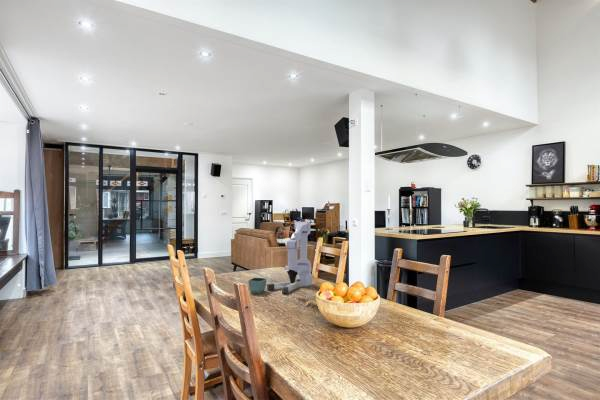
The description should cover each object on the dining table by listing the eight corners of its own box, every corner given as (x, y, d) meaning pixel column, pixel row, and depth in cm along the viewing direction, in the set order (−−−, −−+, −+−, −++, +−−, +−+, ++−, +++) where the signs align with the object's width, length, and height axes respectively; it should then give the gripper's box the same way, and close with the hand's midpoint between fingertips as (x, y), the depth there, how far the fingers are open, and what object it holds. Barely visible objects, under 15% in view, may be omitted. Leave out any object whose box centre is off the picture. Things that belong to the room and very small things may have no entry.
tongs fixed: (298, 285, 226) (298, 278, 226) (302, 286, 222) (302, 279, 222) (267, 290, 212) (267, 282, 212) (270, 291, 208) (270, 284, 208)
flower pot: (247, 295, 205) (247, 280, 205) (253, 291, 214) (254, 277, 214) (261, 296, 203) (261, 281, 203) (266, 292, 211) (266, 278, 211)
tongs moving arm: (294, 287, 220) (294, 281, 220) (297, 287, 219) (297, 282, 219) (281, 293, 203) (282, 287, 203) (285, 294, 202) (285, 288, 202)
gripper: (280, 259, 205) (280, 281, 204) (293, 262, 193) (293, 286, 192) (290, 258, 209) (290, 280, 208) (303, 261, 197) (303, 284, 196)
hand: (292, 282), depth 201 cm, fingers closed
